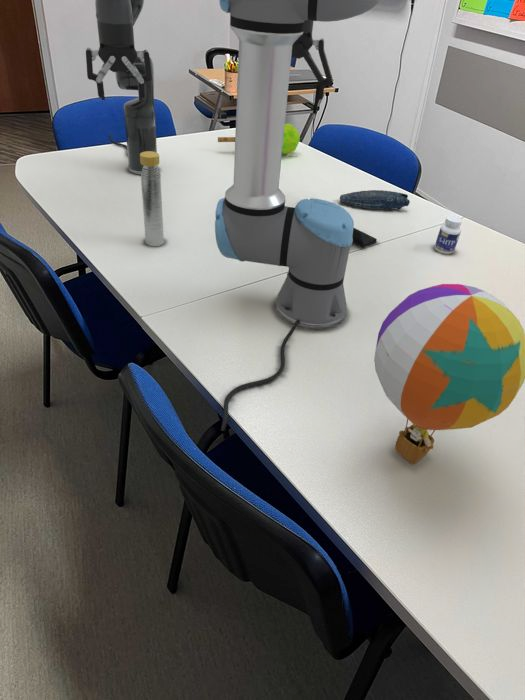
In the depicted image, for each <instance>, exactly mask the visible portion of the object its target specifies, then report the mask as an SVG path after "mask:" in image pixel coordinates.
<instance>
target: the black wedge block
mask: <svg viewBox="0 0 525 700" xmlns="http://www.w3.org/2000/svg"><path fill="white" fill-rule="evenodd" d="M352 238H353V242H352V244H354V245H356V246H359V247H360V248H363V249H364V248H366V247H368V246H371V245H373V244H375V243H377V240H378V238H376V237H374V236H372V235H370V234H368V233H366V232H364V231H362V230H359V229H358V228H355V227H354V228H353V235H352Z"/></svg>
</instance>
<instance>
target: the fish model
mask: <svg viewBox="0 0 525 700" xmlns="http://www.w3.org/2000/svg"><path fill="white" fill-rule="evenodd" d="M410 202H411V201H410V200H409V195H408V194H406V193H403V192H402V193H401V192H399V191H392V190H382V189H380V190H379V189H377V190H376V189H368V190H360V191H352V192H348V193H344V194H341V195H340V196H339V203H343V204H346V205H349V206H351V207H357V208H362V209H371V210H372V209H374V210H384V211H385V210H386V211H391V210H394V209H397V210H402V208H404V207H408V206H409V205H410Z"/></svg>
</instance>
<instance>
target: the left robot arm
mask: <svg viewBox="0 0 525 700" xmlns="http://www.w3.org/2000/svg"><path fill="white" fill-rule="evenodd" d="M94 1H95V2H94V3H95V4H94V5H95V18H96V24H97V33H98V42H99V43H98V44H99V47H98V49H92V48H91V47H86V48H85V60H86V61H85V63H86V76H87V79H88V80H90V81H93V82H95V84H96V89H97V96H98V98H100V99H101V101H106V97H105V87H104V78H105V77H106V75H107V74H108V73H109V71H111V72H112V73H114V75H115V80H116V84H117V86H118V88H119V89H120V90H124V91H125V90H127V91H137V92H138V97H136V98H133V99H131V100H128V101H126V102H124V104H123V116H124V117H123V118H124V127H125V138H126V139H125V140H126V144H124V143H120V142H117V141H115V140H113V138H112V134H109V135H108V138H109V141H110V142H111V143H112V144H114V145H117V146H120V147H124V148H125V149H126V150H127V151H126V152H127V161H128V171H129V172H130V173H132V174H134V175H140V176H141V172H142V169H143V167H144V165H142V164H141V163H140V153H142V152H146V151H152V152H156V153H158V146H157V127H156V111H155V110H156V109H155V94H154V93H155V87H154V84H155V82H154V81H155V79H154V77H155V75H154V74H155V73H154V71H155V70H154V62H153V59H152V58H151V56H150V52H149V50H147V49H144V50H141V51H140V50H139V51H138V50H136V48H135V47H136V46H135V35H134V26H135V24H136V22H137V20H138V18H139V17H140V14H141V12H142V10H143V6H144V3H145V0H94ZM97 57H99V59H100V60H101V61H102V62H103V64H102V65H101V67H100V69H99V71H98V72H97V73H94V68H93V65H94V64H93V61H96V59H97ZM157 167H158V168H159V165H157Z"/></svg>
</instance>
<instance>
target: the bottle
mask: <svg viewBox="0 0 525 700" xmlns="http://www.w3.org/2000/svg"><path fill="white" fill-rule="evenodd" d="M161 177H162V176H161V173H160V171H159V166H158V167H157V166H144V167H143V169H142V172H141V175H140V183H141V198H142V199H141V200H142V211H143V213H142V214H143V225H144V237H145V244H146V245H147V246H150V247H160V246H163V245H164V243H165V239H164V238H165V237H164V218H163V217H164V215H163V201H162V200H163V198H162V197H163V196H162V195H163V194H162V178H161Z"/></svg>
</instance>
